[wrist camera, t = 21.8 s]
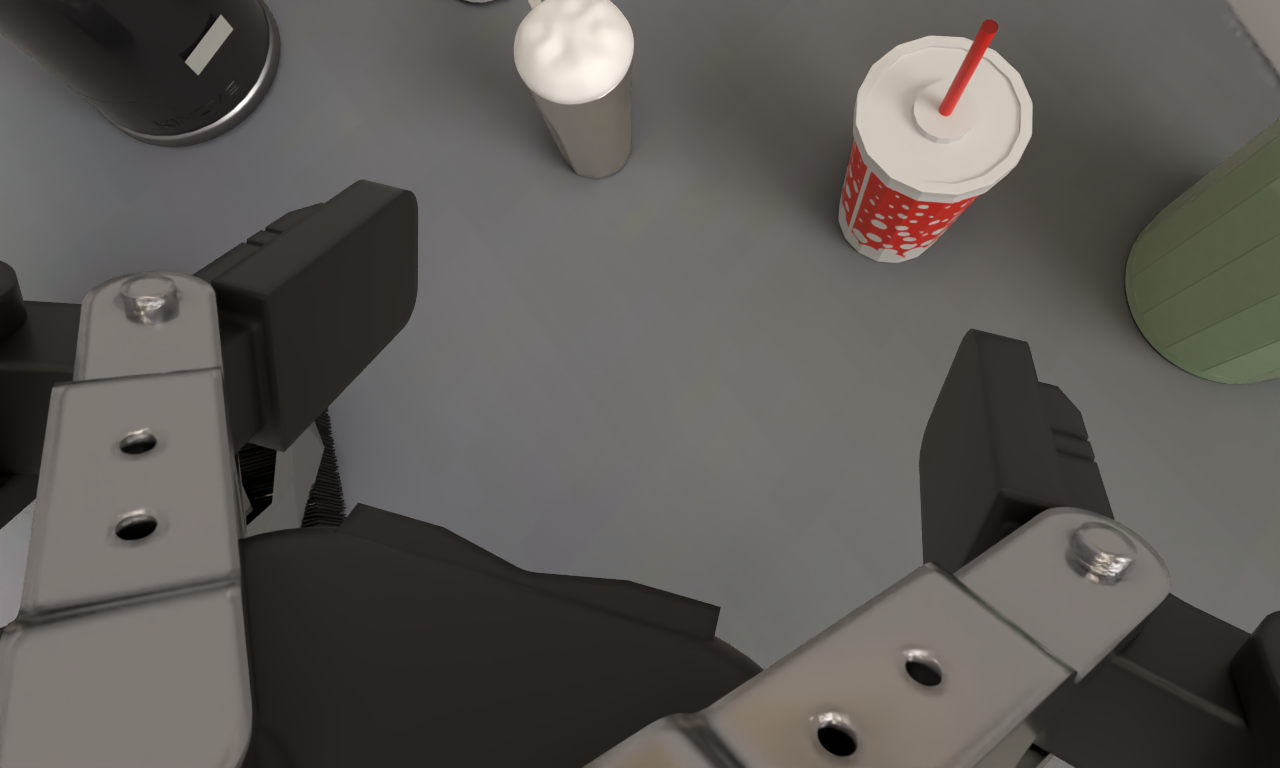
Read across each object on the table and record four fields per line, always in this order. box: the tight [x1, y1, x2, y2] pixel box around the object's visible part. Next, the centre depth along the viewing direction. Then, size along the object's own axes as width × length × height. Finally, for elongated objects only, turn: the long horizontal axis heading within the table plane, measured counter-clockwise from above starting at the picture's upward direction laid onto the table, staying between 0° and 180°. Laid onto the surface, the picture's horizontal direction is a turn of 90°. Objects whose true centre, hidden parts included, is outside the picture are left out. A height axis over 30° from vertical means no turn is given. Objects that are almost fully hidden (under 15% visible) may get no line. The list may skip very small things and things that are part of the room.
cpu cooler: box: [238, 407, 347, 537], centre depth 36 cm, size 10×6×10 cm
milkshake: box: [514, 0, 634, 179], centre depth 37 cm, size 4×5×10 cm
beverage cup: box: [838, 20, 1033, 263], centre depth 33 cm, size 6×6×14 cm
